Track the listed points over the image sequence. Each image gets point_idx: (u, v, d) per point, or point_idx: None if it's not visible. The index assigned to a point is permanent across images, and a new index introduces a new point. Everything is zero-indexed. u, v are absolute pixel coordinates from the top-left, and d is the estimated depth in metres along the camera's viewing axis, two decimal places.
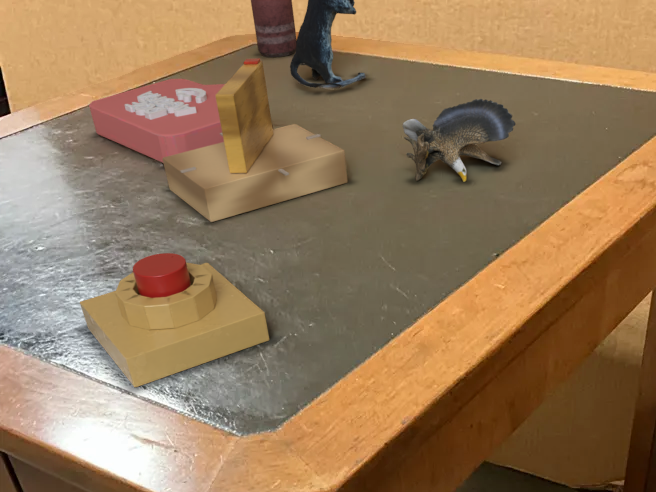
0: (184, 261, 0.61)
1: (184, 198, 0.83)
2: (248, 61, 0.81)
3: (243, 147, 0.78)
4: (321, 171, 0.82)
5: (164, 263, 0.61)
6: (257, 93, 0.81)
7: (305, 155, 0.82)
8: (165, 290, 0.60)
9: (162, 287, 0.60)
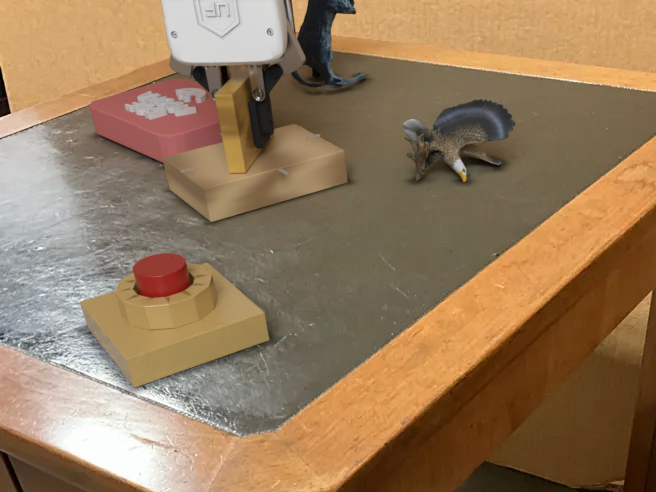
0: (184, 261, 0.61)
1: (184, 198, 0.83)
2: None
3: (242, 147, 0.78)
4: (321, 171, 0.82)
5: (164, 263, 0.61)
6: None
7: (305, 155, 0.82)
8: (165, 290, 0.60)
9: (162, 287, 0.60)
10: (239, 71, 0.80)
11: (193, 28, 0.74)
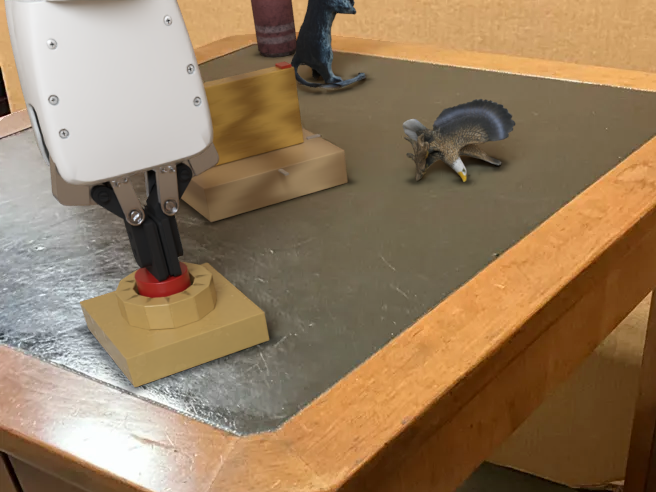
0: (185, 268, 0.61)
1: (184, 198, 0.83)
2: (278, 64, 0.80)
3: None
4: (321, 171, 0.82)
5: None
6: (265, 97, 0.80)
7: (305, 155, 0.82)
8: None
9: (164, 294, 0.60)
10: (254, 71, 0.79)
11: None
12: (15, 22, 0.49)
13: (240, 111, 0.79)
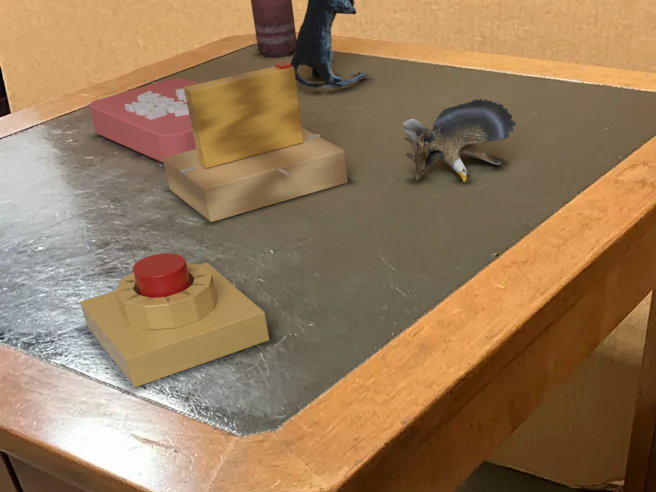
0: (184, 261, 0.61)
1: (184, 198, 0.83)
2: (278, 64, 0.80)
3: (204, 144, 0.79)
4: (321, 171, 0.82)
5: (164, 263, 0.61)
6: (265, 97, 0.80)
7: (305, 155, 0.82)
8: (165, 290, 0.60)
9: (162, 287, 0.60)
10: (254, 71, 0.79)
11: None
12: None
13: (240, 111, 0.79)
